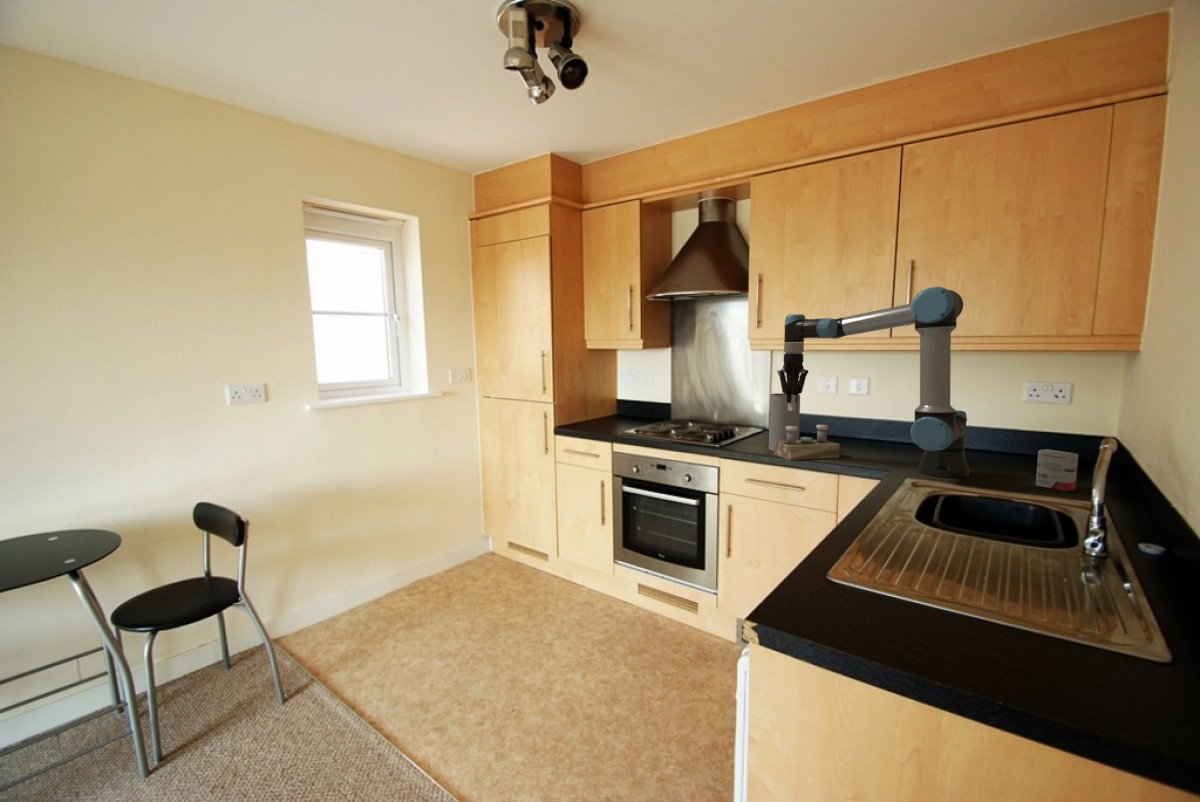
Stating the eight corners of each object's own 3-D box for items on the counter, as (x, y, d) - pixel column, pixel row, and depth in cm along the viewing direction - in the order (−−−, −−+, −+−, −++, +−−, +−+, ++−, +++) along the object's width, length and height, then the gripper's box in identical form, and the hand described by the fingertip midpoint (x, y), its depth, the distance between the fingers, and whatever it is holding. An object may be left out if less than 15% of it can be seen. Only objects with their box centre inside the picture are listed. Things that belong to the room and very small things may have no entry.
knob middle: (814, 456, 209) (815, 438, 208) (804, 457, 208) (805, 439, 208) (807, 454, 214) (808, 436, 213) (798, 454, 213) (798, 437, 212)
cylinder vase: (763, 448, 230) (764, 393, 227) (789, 447, 231) (790, 393, 229) (777, 454, 217) (778, 396, 215) (804, 452, 219) (806, 395, 217)
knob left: (799, 445, 207) (800, 427, 207) (789, 446, 206) (789, 427, 206) (793, 443, 212) (793, 425, 211) (783, 444, 211) (783, 426, 210)
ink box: (1076, 490, 159) (1079, 453, 158) (1067, 492, 157) (1070, 454, 156) (1043, 483, 167) (1046, 448, 165) (1034, 485, 165) (1037, 449, 164)
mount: (839, 458, 207) (839, 444, 207) (790, 461, 203) (790, 446, 203) (820, 452, 219) (821, 439, 218) (774, 455, 215) (774, 441, 214)
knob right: (830, 443, 210) (830, 426, 209) (820, 444, 209) (820, 426, 208) (823, 441, 215) (823, 424, 214) (813, 442, 214) (813, 424, 213)
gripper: (802, 352, 210) (800, 409, 213) (774, 353, 208) (772, 410, 210) (813, 353, 203) (811, 411, 206) (784, 353, 200) (781, 412, 203)
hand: (791, 410), depth 208 cm, fingers closed
